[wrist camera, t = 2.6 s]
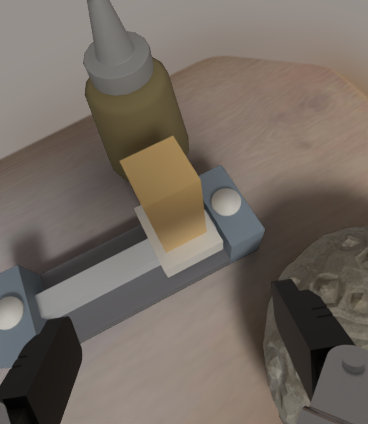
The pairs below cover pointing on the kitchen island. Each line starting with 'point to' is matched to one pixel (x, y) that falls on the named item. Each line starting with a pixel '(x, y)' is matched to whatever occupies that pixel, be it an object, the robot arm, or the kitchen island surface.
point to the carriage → (171, 206)
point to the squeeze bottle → (128, 89)
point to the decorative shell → (334, 299)
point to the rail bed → (129, 292)
